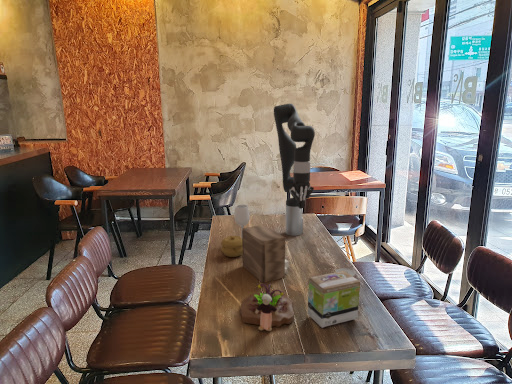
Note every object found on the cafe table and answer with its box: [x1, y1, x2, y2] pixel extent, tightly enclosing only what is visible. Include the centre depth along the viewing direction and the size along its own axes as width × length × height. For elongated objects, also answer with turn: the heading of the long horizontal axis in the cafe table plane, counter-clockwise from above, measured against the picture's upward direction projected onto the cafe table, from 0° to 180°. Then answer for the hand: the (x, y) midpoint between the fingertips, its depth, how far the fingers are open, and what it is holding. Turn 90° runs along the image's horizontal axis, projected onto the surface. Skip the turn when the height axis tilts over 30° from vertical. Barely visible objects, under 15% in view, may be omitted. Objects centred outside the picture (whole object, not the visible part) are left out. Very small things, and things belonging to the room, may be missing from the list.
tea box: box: [306, 271, 361, 329], centre depth 131 cm, size 15×10×15 cm
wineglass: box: [233, 204, 251, 238], centre depth 201 cm, size 9×9×21 cm
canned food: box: [335, 267, 357, 279], centre depth 144 cm, size 8×8×11 cm
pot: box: [220, 235, 243, 258], centre depth 187 cm, size 12×12×10 cm
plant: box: [239, 283, 295, 328], centre depth 136 cm, size 20×20×11 cm
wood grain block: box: [242, 224, 286, 284], centre depth 167 cm, size 11×19×18 cm, turn 28°
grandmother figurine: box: [255, 294, 278, 332], centre depth 125 cm, size 8×4×13 cm, turn 89°
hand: (301, 208), depth 172 cm, fingers closed
